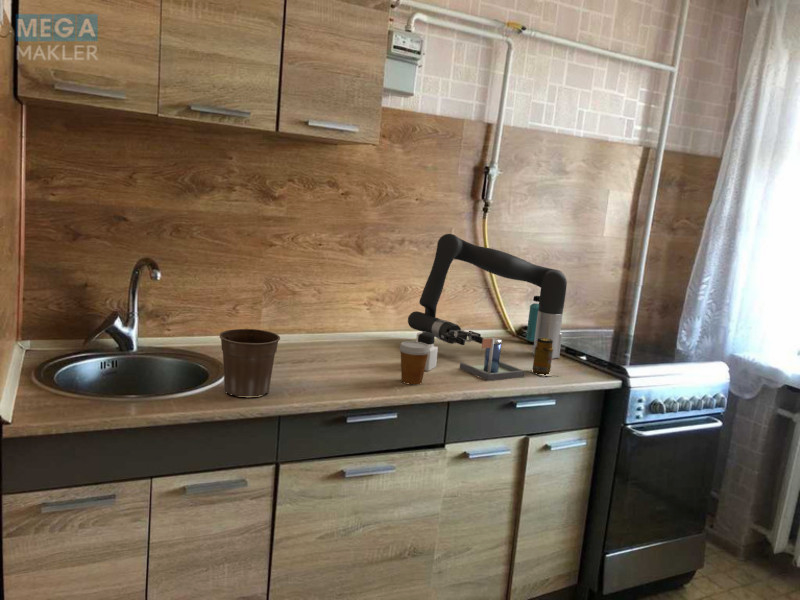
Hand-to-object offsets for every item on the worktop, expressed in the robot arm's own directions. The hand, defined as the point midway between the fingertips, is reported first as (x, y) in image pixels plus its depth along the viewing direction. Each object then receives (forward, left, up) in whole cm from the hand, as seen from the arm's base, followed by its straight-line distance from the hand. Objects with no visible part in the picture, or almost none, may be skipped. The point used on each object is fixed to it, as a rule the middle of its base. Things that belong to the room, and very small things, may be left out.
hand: (473, 341), depth 237 cm
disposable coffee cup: (+27, +23, -8) cm, 37 cm away
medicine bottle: (+19, +6, -8) cm, 22 cm away
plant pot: (+77, +35, -8) cm, 85 cm away
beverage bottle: (-39, -34, -8) cm, 52 cm away
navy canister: (-4, +10, -8) cm, 13 cm away
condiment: (-23, +10, -8) cm, 26 cm away
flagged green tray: (-2, +11, -8) cm, 14 cm away
